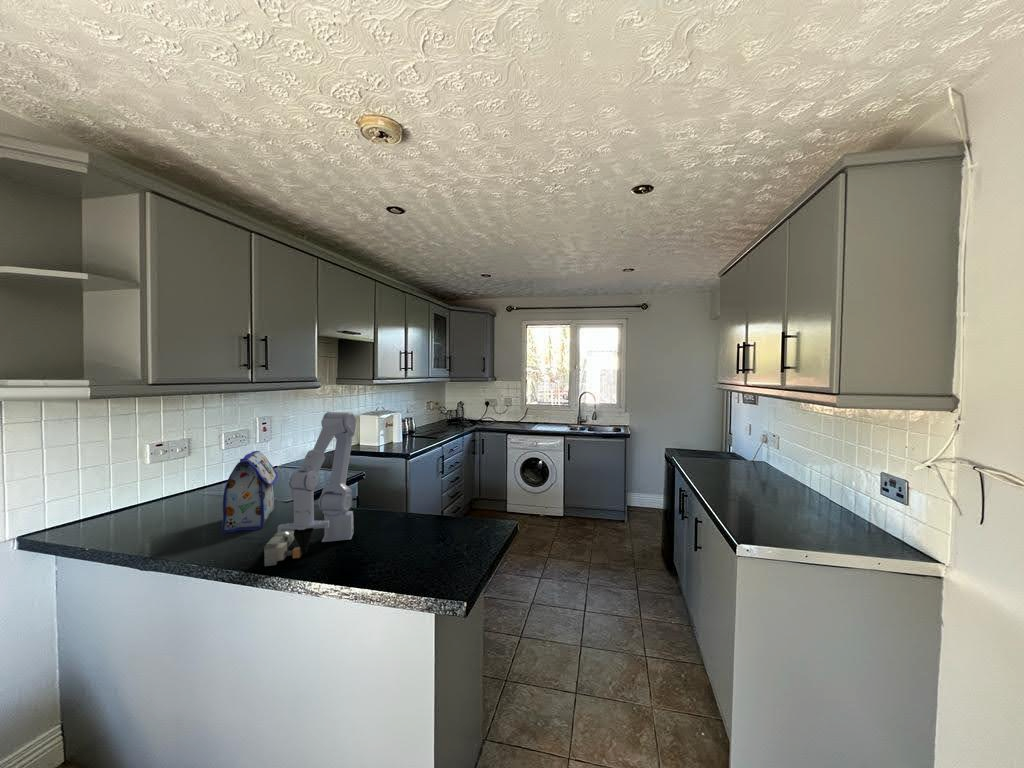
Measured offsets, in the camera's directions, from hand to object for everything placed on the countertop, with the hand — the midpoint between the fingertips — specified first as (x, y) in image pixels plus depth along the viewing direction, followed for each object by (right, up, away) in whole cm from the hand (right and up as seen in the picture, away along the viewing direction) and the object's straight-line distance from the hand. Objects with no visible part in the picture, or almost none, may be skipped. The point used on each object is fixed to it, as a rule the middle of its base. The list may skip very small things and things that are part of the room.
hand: (304, 552), depth 133 cm
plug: (-5, -1, -1) cm, 5 cm away
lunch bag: (-37, -1, +33) cm, 50 cm away
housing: (-9, -1, +1) cm, 9 cm away
